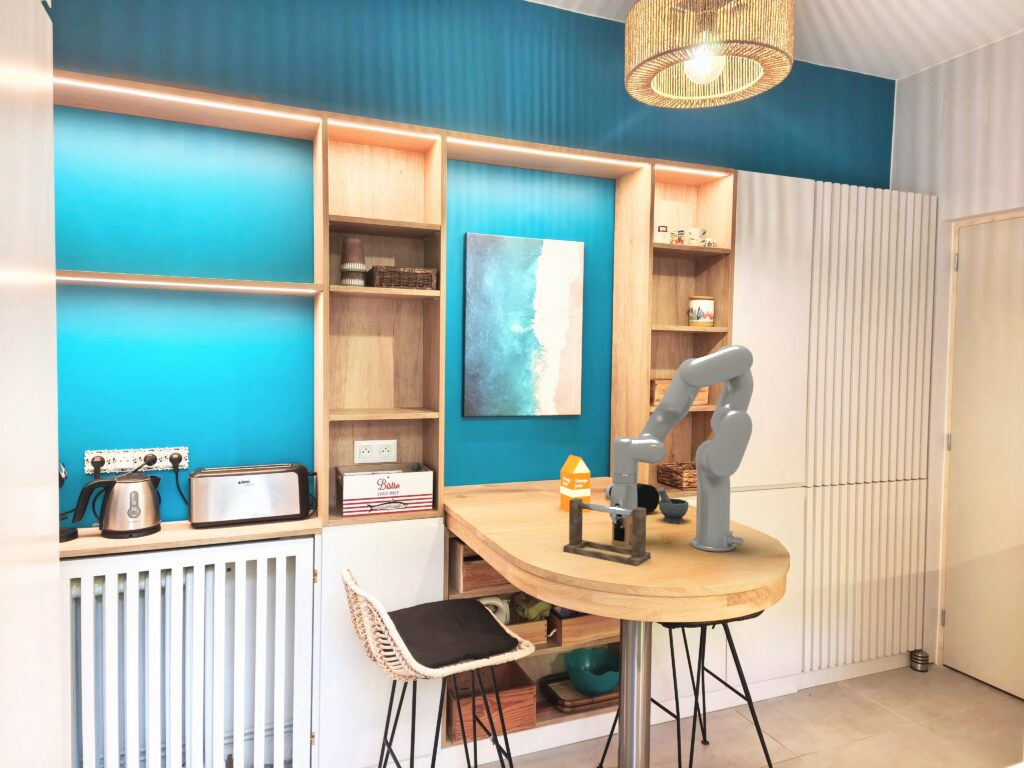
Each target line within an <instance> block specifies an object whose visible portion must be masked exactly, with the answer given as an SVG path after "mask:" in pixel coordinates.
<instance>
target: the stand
mask: <svg viewBox="0 0 1024 768" xmlns="http://www.w3.org/2000/svg"><path fill="white" fill-rule="evenodd" d="M579 502H583V499H579V498H574V499H571V500H569V512H568V514H569V515H568V518H569V519H568V544H564V545H563V546H562V547H563V548H562V549H563V550H562V551H563V552H565V553H569V554H570V553H571V554H574V555H581V556H584V557H585V556H586V557H590V558H596V559H600V560H606V561H611V562H616V563H620V564H626V565H630V566H634V567H638V566H640V565H641V564H643V563H644V562H646V561H647V560H649V559H651V553H652V552H649V551H646V549H647V548H646V547H647V545H646V543H647V539H646V538H647V513H646V508H641V507H637V508H635V509H633V522H632V544H631V545H632V546H631V548H630V547H629V548H624V547H618V546H613V545H612V544H608V543H601V542H596V541H591V540H584V539H583V513H582V509H581V508H578V503H579ZM585 548H590V549H585ZM591 548H593V549H596V550H602V551H608V552H612V553H616V554H617V553H618V554H622V555H628V556H629V557H628V556H627V557H626V556H622V555H618V554H617V555H616V554H612V553H608V552H607V553H606V552H602V551H596V550H591Z"/></svg>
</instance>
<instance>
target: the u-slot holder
mask: <svg viewBox="0 0 1024 768" xmlns="http://www.w3.org/2000/svg"><path fill="white" fill-rule="evenodd" d="M621 516H622V515H618V517H621ZM618 520H619V521H620V523H621V519H618ZM611 521H612V520H611ZM632 522H633V517H632V516H629V517H627V518H625V519H624V526H623V528H625V540H624V541H623V542H622V541H616V540H614V527H613V521H612V524H611V525H612V527H611V542H612V543H611V545H613V546H618V547H624V548H629V549H630V545H632Z"/></svg>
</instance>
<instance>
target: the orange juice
mask: <svg viewBox="0 0 1024 768" xmlns="http://www.w3.org/2000/svg"><path fill="white" fill-rule="evenodd" d="M559 492H560V510H562V511H565V512H567V513H569V500H571V499H574V498H579V499H583V503H589V504H591V471H590V469H589V468H588V466H587V465H586V463H585V462H584V460H583V458H582V457H580V456H576V455H572V454H569V456H568V457H567V459H566V460H565V463H564V464H563V466H562V468H561V469H560V491H559ZM590 512H591V510H587V509H582V514H583V513H584V514H585V513H590Z"/></svg>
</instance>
